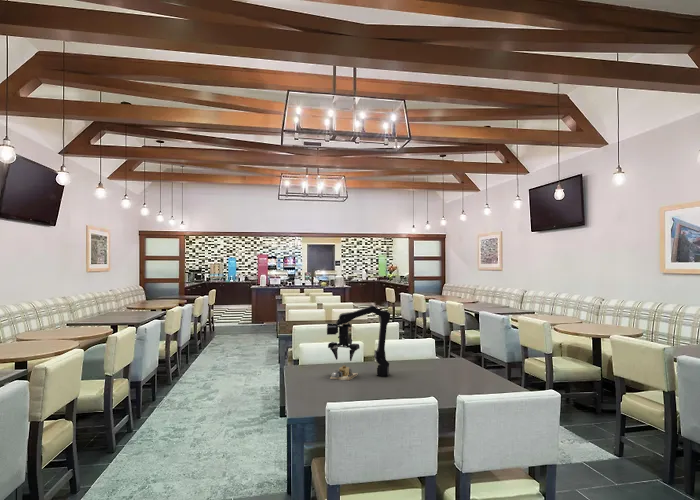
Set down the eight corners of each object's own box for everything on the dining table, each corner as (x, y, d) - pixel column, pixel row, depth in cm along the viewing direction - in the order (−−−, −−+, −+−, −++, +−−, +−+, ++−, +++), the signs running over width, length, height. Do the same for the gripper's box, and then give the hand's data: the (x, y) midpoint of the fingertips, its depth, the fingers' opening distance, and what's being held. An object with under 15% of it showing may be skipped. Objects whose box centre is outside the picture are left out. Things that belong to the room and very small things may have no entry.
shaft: (336, 375, 258) (336, 370, 258) (342, 376, 255) (342, 371, 255) (329, 376, 254) (329, 371, 255) (335, 378, 251) (335, 373, 251)
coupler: (349, 374, 260) (349, 365, 260) (346, 376, 256) (346, 366, 256) (342, 373, 262) (342, 364, 262) (339, 375, 258) (339, 366, 258)
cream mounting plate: (358, 374, 265) (358, 367, 265) (348, 380, 250) (348, 373, 250) (341, 372, 269) (341, 366, 270) (330, 378, 255) (330, 371, 255)
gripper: (362, 333, 264) (362, 359, 263) (335, 331, 271) (335, 356, 270) (355, 336, 253) (356, 362, 253) (327, 334, 261) (327, 360, 260)
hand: (343, 360), depth 259 cm, fingers open, 9 cm apart
